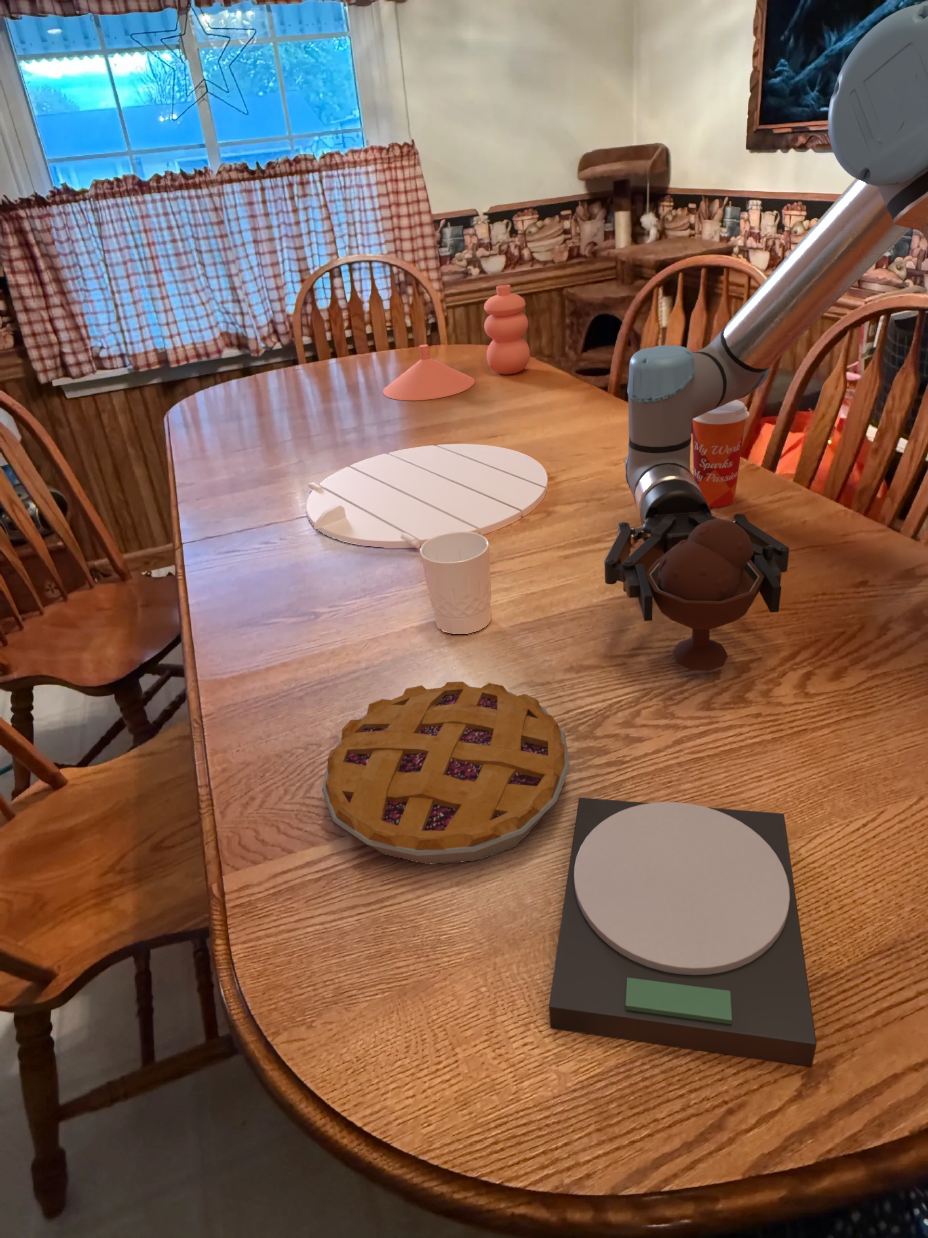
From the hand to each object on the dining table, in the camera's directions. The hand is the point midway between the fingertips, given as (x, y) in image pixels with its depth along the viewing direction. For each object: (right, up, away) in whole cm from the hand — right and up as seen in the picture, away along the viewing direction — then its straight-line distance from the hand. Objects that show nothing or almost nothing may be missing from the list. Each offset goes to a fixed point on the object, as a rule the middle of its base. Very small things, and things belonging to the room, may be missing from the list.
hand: (711, 604), depth 77 cm
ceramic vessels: (-25, +53, +112) cm, 127 cm away
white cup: (-23, -2, +22) cm, 32 cm away
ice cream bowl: (+1, -5, +8) cm, 10 cm away
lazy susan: (-30, +19, +57) cm, 67 cm away
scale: (-8, -23, -17) cm, 30 cm away
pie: (-24, -17, -2) cm, 30 cm away
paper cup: (+14, +16, +43) cm, 48 cm away
